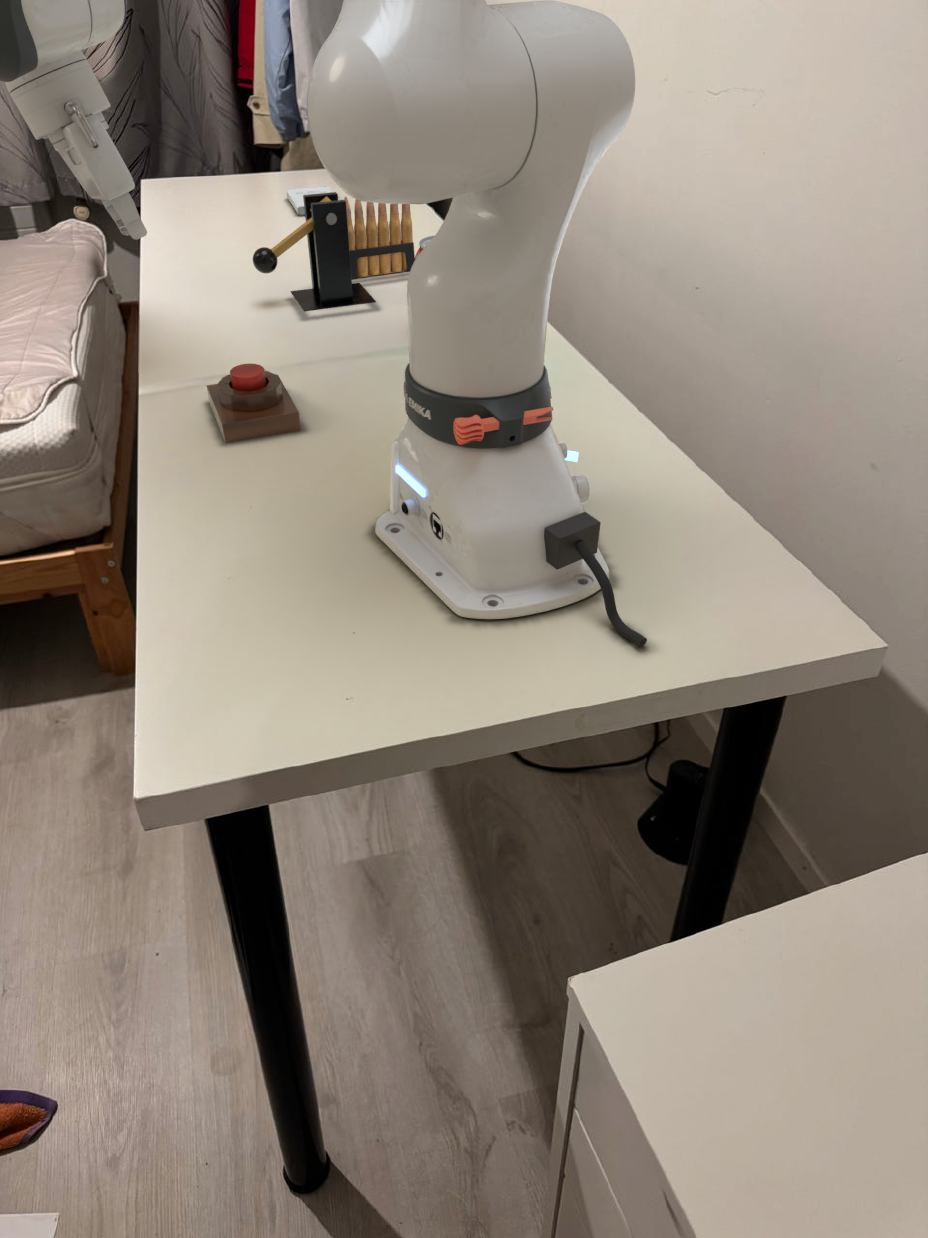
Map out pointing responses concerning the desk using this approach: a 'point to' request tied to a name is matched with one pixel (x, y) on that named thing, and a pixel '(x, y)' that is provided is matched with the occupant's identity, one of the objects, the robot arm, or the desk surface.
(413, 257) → the ammunition clip
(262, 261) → the lever
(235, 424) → the button block
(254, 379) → the button
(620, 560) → the desk surface
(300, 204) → the hard drive
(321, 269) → the bracket
